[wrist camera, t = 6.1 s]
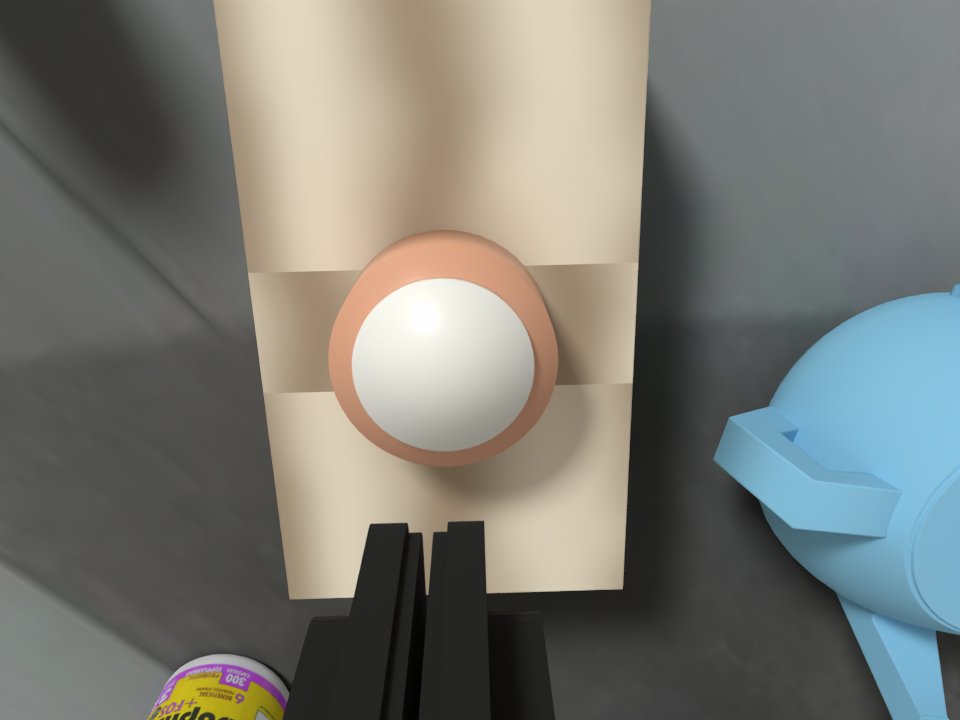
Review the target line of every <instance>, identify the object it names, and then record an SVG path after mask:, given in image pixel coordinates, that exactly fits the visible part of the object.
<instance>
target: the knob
mask: <svg viewBox="0 0 960 720" xmlns="http://www.w3.org/2000/svg"><path fill="white" fill-rule="evenodd" d="M328 360H329V372H330V378H331V383H332V386H333V389H334V393H335V396H336V398H337V400H338V402H339V404H340V406H341V408H342V410H343V411H344V413H345V414H346V416H347V418H348V419H349V420H350V422H351V423H352V424H353V425H354V426H355V428H356V429H357V430H358V431H359V432H360V433H361V434H362V435H363V436H364V437H366V438H367V439H368V440H369V441H370V442H372V443H373V444H375V445H376V446H377V447H379V448H380V449H382V450H384V451H386V452H387V453H389V454H391V455H393V456H396V457H398V458H401V459H403V460H406V461H409V462H413V463H417V464H421V465H428V466H440V467H450V466H462V465H467V464H472V463H476V462H479V461H482V460H485V459H488V458H491V457H493V456H495V455H497V454H499V453H501V452H503V451H505V450H506V449H508V448H509V447H511V446H513V445H514V444H515V443H517V442H518V441H519V440H520V439H521V438H523V437H524V436H525V435H526V434H527V433H528V432H529V431H530V430H531V429H532V428H533V426H534V425H535V424H536V423H537V421H538V420H539V418H540V417H541V416H542V414H543V413H544V411H545V409H546V407H547V405H548V403H549V401H550V398H551V396H552V393H553V390H554V387H555V383H556V378H557V371H558V347H557V342H556V337H555V332H554V329H553V327H552V324H551V321H550V318H549V315H548V312H547V309H546V306H545V304H544V301H543V298H542V295H541V292H540V290H539V288H538V286H537V284H536V282H535V280H534V278H533V277H532V276H531V274H530V273H529V271H528V270H527V268H526V267H525V266H524V265H523V264H522V263H521V262H520V261H519V260H518V259H517V258H516V257H515V256H514V255H513V254H511V253H510V252H509V251H508V250H506V249H505V248H503V247H502V246H500V245H499V244H497V243H495V242H493V241H491V240H489V239H487V238H484V237H482V236H479V235H475V234H472V233H468V232H462V231H457V230H435V231H427V232H422V233H418V234H414V235H411V236H408V237H406V238H403V239H401V240H399V241H397V242H395V243H393V244H391V245H390V246H388V247H387V248H385V249H384V250H383V251H381V252H380V253H378V254H377V255H376V256H375V257H374V258H373V259H372V260H371V261H370V262H369V263H368V264H367V266H366V267H365V268H364V269H363V271H362V272H361V273H360V275H359V277H358V278H357V280H356V282H355V283H354V285H353V287H352V289H351V291H350V293H349V294H348V296H347V298H346V300H345V302H344V304H343V306H342V308H341V309H340V311H339V314H338V316H337V318H336V321H335V323H334V326H333V329H332V333H331V337H330V343H329V352H328Z"/></svg>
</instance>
